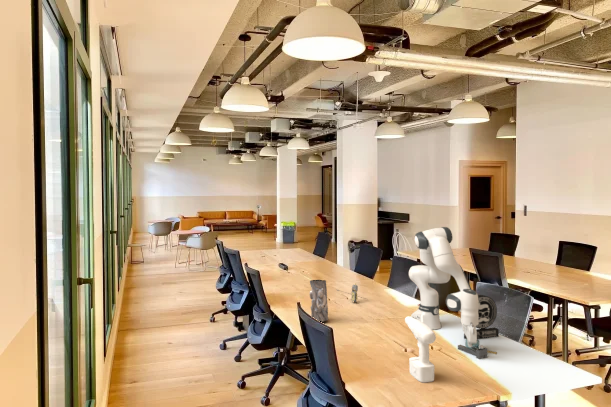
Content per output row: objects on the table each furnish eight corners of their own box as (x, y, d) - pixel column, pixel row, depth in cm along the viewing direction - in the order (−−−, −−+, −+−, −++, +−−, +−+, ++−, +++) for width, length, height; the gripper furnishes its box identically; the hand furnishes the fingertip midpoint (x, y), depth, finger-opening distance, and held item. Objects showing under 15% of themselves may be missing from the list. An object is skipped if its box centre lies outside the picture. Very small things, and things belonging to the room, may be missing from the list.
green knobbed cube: (465, 347, 249) (465, 338, 249) (472, 346, 251) (473, 337, 251) (471, 350, 244) (471, 341, 244) (479, 349, 246) (479, 340, 246)
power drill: (415, 364, 225) (415, 314, 225) (440, 384, 202) (440, 328, 201) (399, 365, 223) (399, 315, 223) (422, 386, 200) (422, 329, 199)
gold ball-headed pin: (482, 352, 241) (482, 350, 241) (483, 350, 243) (484, 349, 243) (495, 354, 238) (495, 353, 237) (497, 353, 239) (497, 351, 239)
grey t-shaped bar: (455, 349, 245) (455, 338, 245) (463, 347, 248) (463, 336, 248) (479, 359, 231) (479, 346, 231) (487, 357, 234) (487, 344, 234)
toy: (335, 301, 356) (335, 282, 355) (366, 299, 362) (366, 281, 361) (339, 304, 346) (339, 285, 346) (370, 302, 352) (370, 283, 352)
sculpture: (327, 324, 294) (326, 281, 293) (308, 323, 296) (307, 281, 296) (329, 319, 305) (329, 278, 305) (311, 318, 308) (311, 277, 307)
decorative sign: (466, 340, 261) (466, 297, 260) (463, 338, 264) (464, 296, 263) (498, 336, 267) (498, 294, 266) (495, 335, 269) (495, 293, 269)
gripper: (480, 326, 229) (480, 353, 229) (472, 315, 249) (472, 340, 249) (467, 325, 230) (467, 352, 230) (460, 315, 250) (460, 339, 250)
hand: (469, 346), depth 240 cm, fingers closed
